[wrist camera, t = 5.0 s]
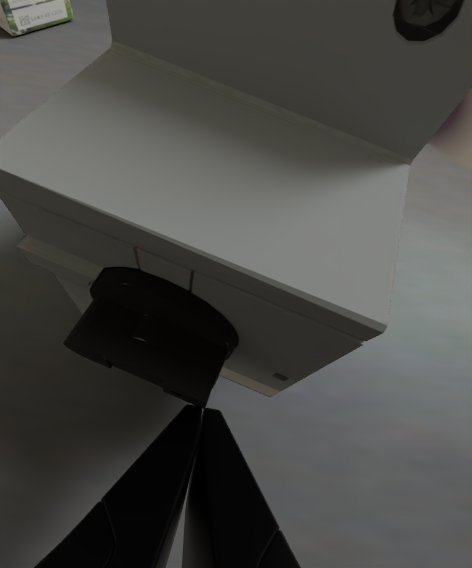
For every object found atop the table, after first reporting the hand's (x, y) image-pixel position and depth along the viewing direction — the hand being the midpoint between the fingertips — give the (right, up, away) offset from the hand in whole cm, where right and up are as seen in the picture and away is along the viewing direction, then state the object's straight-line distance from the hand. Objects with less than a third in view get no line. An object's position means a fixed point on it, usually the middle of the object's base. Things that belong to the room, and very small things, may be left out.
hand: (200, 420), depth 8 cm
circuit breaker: (0, +3, +10) cm, 10 cm away
